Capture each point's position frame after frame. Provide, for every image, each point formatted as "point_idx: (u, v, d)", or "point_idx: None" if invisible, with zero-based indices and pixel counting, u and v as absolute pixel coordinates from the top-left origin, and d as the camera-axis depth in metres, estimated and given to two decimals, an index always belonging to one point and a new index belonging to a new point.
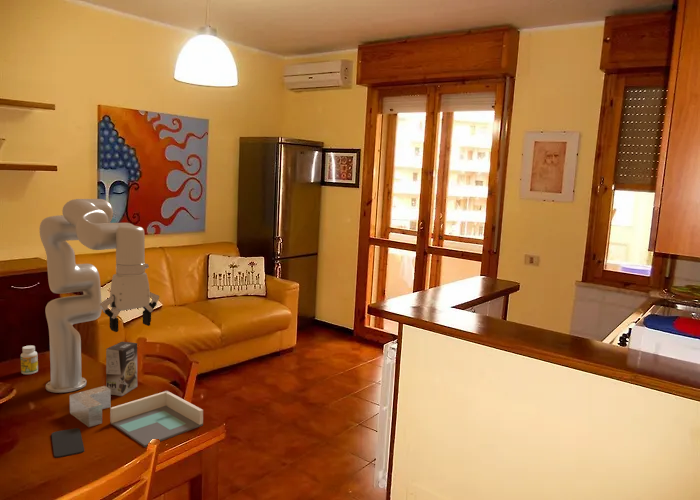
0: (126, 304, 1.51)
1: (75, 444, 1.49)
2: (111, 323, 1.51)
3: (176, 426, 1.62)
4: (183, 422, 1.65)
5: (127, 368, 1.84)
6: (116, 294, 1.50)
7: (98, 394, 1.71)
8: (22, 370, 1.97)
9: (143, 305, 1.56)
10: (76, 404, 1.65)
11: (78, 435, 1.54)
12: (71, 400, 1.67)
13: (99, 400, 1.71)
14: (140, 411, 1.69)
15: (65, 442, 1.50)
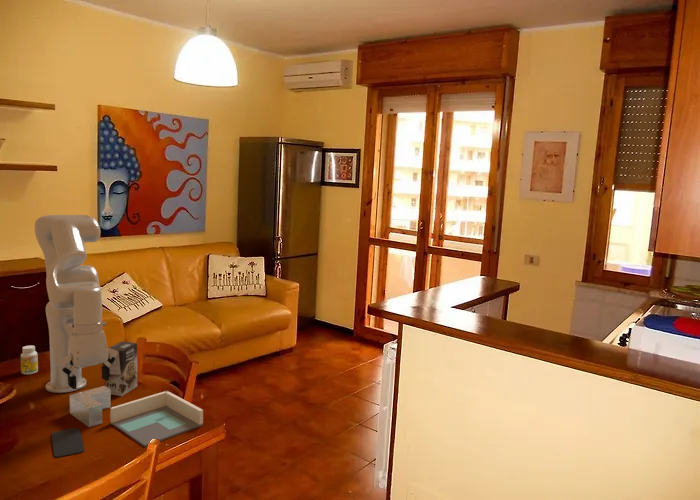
0: (83, 362, 1.58)
1: (75, 444, 1.49)
2: (69, 381, 1.57)
3: (176, 426, 1.62)
4: (183, 422, 1.65)
5: (127, 368, 1.84)
6: (73, 353, 1.56)
7: (98, 394, 1.71)
8: (22, 370, 1.97)
9: (101, 361, 1.62)
10: (76, 404, 1.65)
11: (78, 435, 1.54)
12: (71, 400, 1.67)
13: (99, 400, 1.71)
14: (140, 411, 1.69)
15: (65, 442, 1.50)
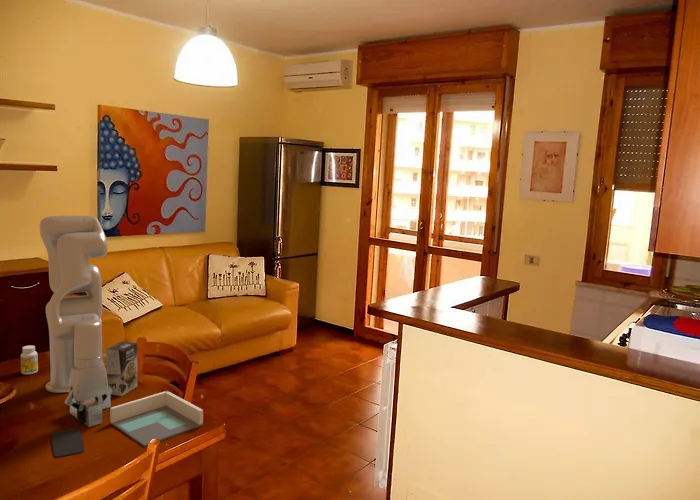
0: (84, 395, 1.60)
1: (75, 444, 1.49)
2: (78, 415, 1.61)
3: (176, 426, 1.62)
4: (183, 422, 1.65)
5: (127, 368, 1.84)
6: (73, 387, 1.58)
7: None
8: (22, 370, 1.97)
9: (101, 394, 1.64)
10: None
11: (78, 435, 1.54)
12: None
13: None
14: (140, 411, 1.69)
15: (65, 442, 1.50)
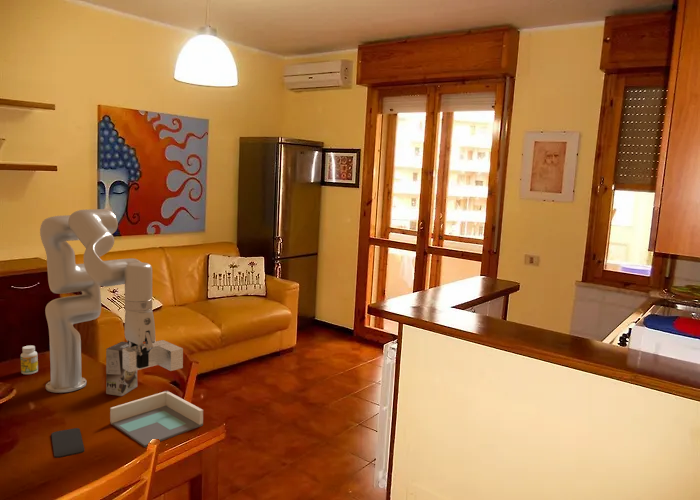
0: (127, 335, 1.59)
1: (75, 444, 1.49)
2: None
3: (176, 426, 1.62)
4: (183, 422, 1.65)
5: None
6: None
7: (163, 350, 1.60)
8: (22, 370, 1.97)
9: (137, 343, 1.56)
10: None
11: (78, 435, 1.54)
12: None
13: (164, 357, 1.60)
14: (140, 411, 1.69)
15: (65, 442, 1.50)
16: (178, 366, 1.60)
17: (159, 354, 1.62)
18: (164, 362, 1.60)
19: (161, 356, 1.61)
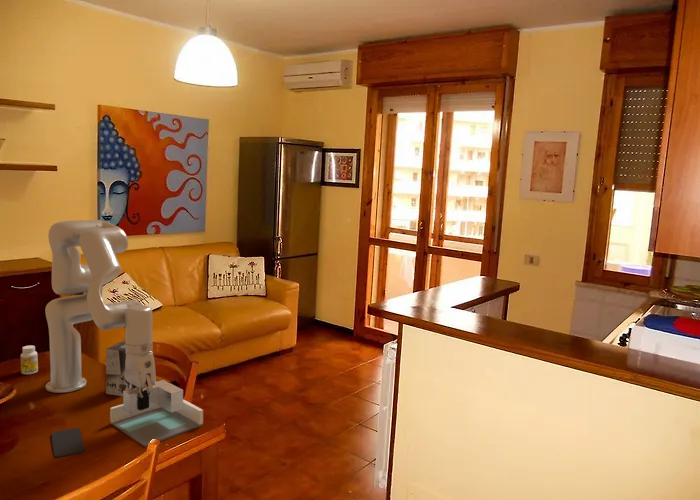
0: (128, 377, 1.61)
1: (75, 444, 1.49)
2: None
3: (176, 426, 1.62)
4: (183, 422, 1.65)
5: None
6: None
7: (163, 391, 1.62)
8: (22, 370, 1.97)
9: (137, 386, 1.58)
10: None
11: (78, 435, 1.54)
12: None
13: (164, 398, 1.62)
14: (140, 411, 1.69)
15: (65, 442, 1.50)
16: (179, 408, 1.62)
17: (159, 395, 1.64)
18: (164, 403, 1.62)
19: (161, 397, 1.63)
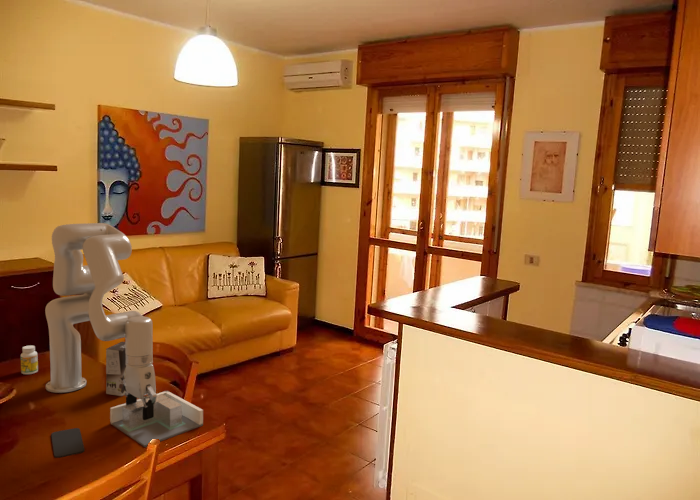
0: (128, 388, 1.61)
1: (75, 444, 1.49)
2: None
3: (176, 426, 1.62)
4: (183, 422, 1.65)
5: None
6: None
7: (163, 406, 1.63)
8: (22, 370, 1.97)
9: (137, 397, 1.58)
10: None
11: (78, 435, 1.54)
12: None
13: (163, 413, 1.63)
14: None
15: (65, 442, 1.50)
16: (178, 423, 1.63)
17: (158, 410, 1.64)
18: (163, 418, 1.63)
19: (160, 412, 1.64)
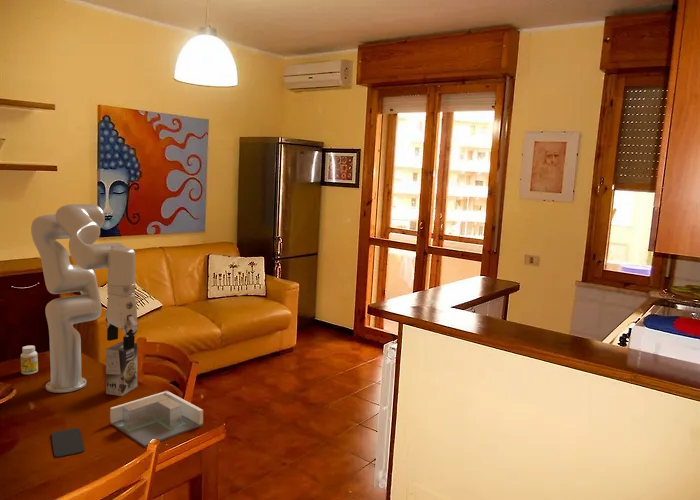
0: (109, 318, 1.61)
1: (75, 444, 1.49)
2: None
3: (176, 426, 1.62)
4: (183, 422, 1.65)
5: (127, 368, 1.84)
6: None
7: (163, 406, 1.63)
8: (22, 370, 1.97)
9: (118, 326, 1.58)
10: None
11: (78, 435, 1.54)
12: None
13: (163, 413, 1.63)
14: None
15: (65, 442, 1.50)
16: (178, 423, 1.63)
17: (158, 410, 1.64)
18: (163, 418, 1.63)
19: (160, 412, 1.64)
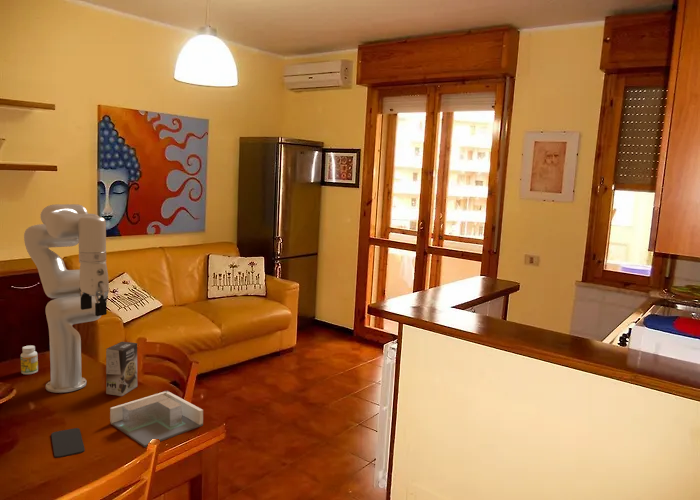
0: (82, 287, 1.65)
1: (75, 444, 1.49)
2: None
3: (176, 426, 1.62)
4: (183, 422, 1.65)
5: (127, 368, 1.84)
6: None
7: (163, 406, 1.63)
8: (22, 370, 1.97)
9: (90, 293, 1.62)
10: None
11: (78, 435, 1.54)
12: None
13: (163, 413, 1.63)
14: None
15: (65, 442, 1.50)
16: (178, 423, 1.63)
17: (158, 410, 1.64)
18: (163, 418, 1.63)
19: (160, 412, 1.64)
